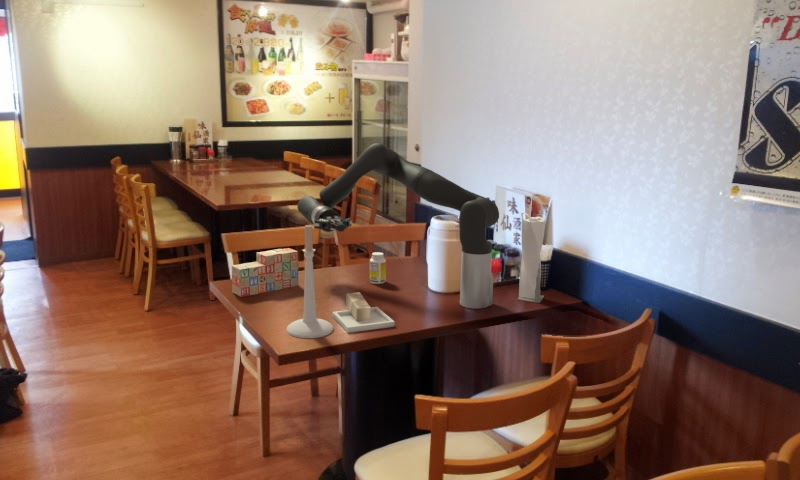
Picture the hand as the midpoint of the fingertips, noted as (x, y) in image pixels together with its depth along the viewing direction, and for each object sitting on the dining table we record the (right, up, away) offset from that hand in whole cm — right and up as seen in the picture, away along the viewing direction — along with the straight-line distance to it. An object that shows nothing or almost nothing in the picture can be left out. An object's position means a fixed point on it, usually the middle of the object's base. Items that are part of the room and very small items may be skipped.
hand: (341, 228), depth 207 cm
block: (+4, -21, -5) cm, 22 cm away
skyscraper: (+60, -23, +12) cm, 65 cm away
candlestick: (-7, -29, -19) cm, 35 cm away
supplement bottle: (+10, -18, +27) cm, 34 cm away
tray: (+7, -27, -12) cm, 31 cm away
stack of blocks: (-26, -20, +17) cm, 37 cm away
